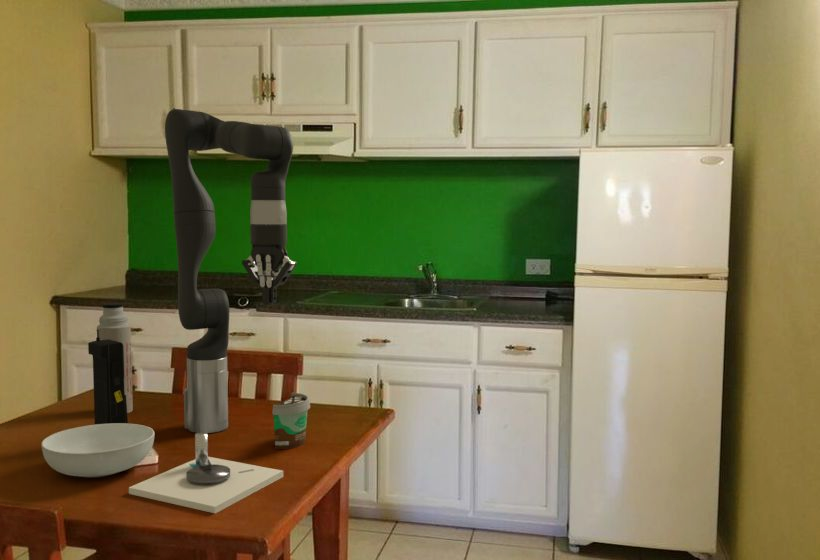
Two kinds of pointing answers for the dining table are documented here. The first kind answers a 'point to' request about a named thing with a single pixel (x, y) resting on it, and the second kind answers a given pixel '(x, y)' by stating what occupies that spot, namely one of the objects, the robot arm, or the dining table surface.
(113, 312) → the thermos bottle
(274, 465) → the dining table surface
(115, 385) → the portable radio
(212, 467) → the dial
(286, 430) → the food container
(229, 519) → the dining table surface
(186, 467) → the dial plate
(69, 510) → the dining table surface
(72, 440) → the serving bowl
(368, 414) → the dining table surface
